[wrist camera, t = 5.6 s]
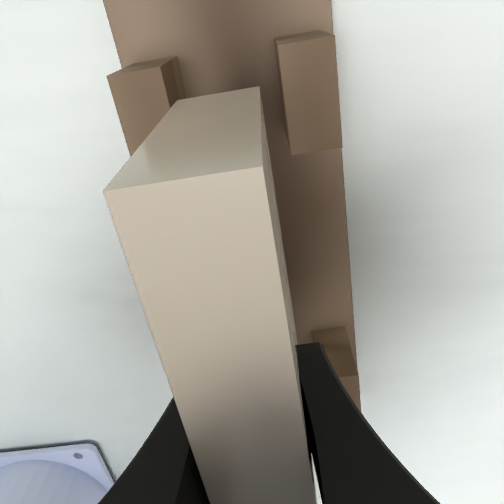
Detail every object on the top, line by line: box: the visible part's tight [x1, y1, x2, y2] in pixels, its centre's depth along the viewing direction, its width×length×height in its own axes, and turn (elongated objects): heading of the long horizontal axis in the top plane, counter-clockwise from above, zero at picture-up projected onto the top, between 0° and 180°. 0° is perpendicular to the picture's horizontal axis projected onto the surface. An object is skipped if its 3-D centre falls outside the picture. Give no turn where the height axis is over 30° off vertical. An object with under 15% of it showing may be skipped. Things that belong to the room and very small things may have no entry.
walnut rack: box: [103, 0, 361, 412], centre depth 17 cm, size 7×20×4 cm, turn 9°
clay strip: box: [103, 86, 321, 504], centre depth 11 cm, size 2×14×6 cm, turn 9°
